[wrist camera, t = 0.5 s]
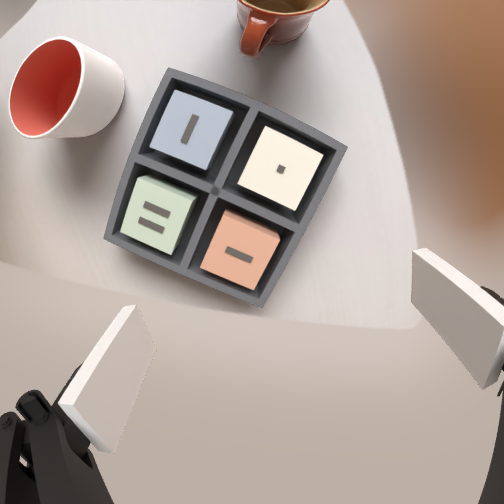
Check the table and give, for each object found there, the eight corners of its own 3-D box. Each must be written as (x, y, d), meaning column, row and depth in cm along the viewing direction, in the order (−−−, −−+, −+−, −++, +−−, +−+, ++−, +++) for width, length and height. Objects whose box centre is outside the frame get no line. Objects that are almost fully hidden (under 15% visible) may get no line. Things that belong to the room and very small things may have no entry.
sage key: (132, 222, 29) (119, 232, 26) (149, 174, 27) (137, 177, 24) (179, 243, 30) (170, 255, 27) (198, 195, 28) (192, 201, 25)
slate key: (160, 146, 27) (148, 146, 23) (183, 95, 25) (174, 89, 21) (210, 167, 27) (205, 170, 24) (235, 116, 26) (232, 111, 22)
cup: (135, 119, 28) (91, 111, 18) (67, 149, 28) (14, 155, 19) (122, 46, 24) (80, 18, 15) (56, 80, 25) (6, 69, 16)
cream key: (238, 179, 28) (237, 184, 24) (263, 128, 26) (265, 125, 23) (290, 203, 29) (295, 211, 25) (315, 154, 27) (323, 155, 24)
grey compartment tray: (122, 225, 32) (103, 238, 27) (180, 79, 26) (168, 67, 21) (260, 285, 35) (262, 308, 30) (332, 146, 29) (347, 147, 24)
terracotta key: (205, 254, 30) (199, 268, 27) (226, 207, 29) (223, 215, 25) (253, 275, 31) (253, 291, 28) (276, 229, 30) (280, 240, 26)
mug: (249, -15, 22) (249, -65, 12) (321, 9, 23) (346, -35, 14) (208, 64, 26) (190, 29, 16) (286, 90, 27) (303, 63, 17)
